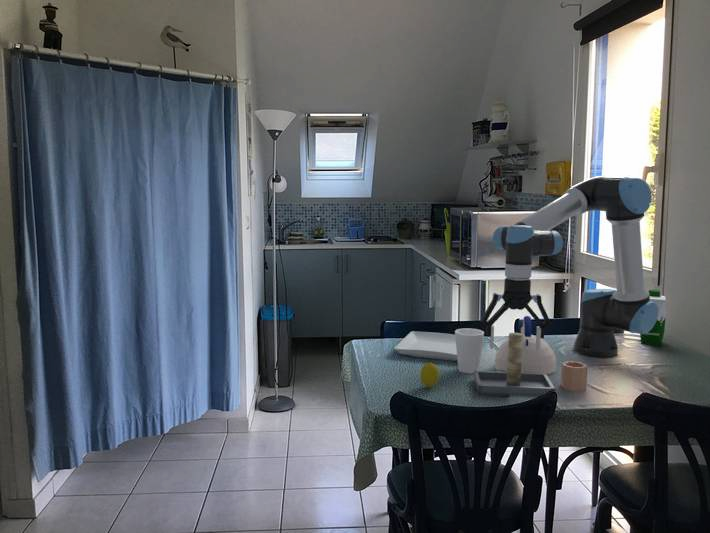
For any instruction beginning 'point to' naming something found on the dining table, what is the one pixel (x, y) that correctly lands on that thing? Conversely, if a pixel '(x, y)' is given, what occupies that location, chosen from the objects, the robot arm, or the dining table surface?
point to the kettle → (528, 353)
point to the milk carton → (658, 329)
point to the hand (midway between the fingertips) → (514, 348)
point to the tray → (496, 386)
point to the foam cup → (468, 349)
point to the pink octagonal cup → (574, 376)
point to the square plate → (429, 345)
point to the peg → (514, 359)
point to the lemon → (429, 374)
